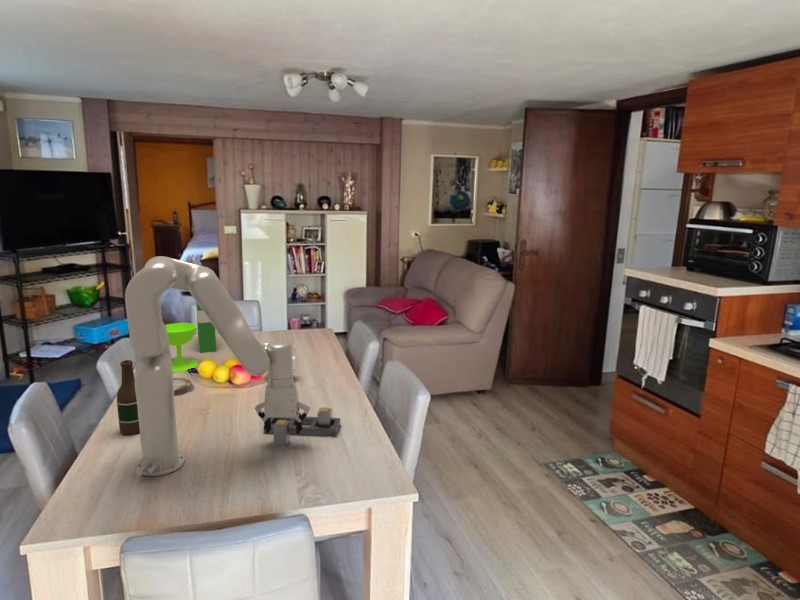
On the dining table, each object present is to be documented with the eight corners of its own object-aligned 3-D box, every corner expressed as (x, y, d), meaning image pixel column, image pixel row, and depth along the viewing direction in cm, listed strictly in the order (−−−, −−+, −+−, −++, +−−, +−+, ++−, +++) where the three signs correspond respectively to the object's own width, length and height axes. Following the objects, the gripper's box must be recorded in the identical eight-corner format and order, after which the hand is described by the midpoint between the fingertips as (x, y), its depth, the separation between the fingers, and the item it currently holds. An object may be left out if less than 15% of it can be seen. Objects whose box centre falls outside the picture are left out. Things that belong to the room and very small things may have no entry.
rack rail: (340, 424, 179) (340, 418, 179) (335, 436, 170) (335, 430, 170) (271, 421, 180) (271, 415, 180) (263, 433, 172) (263, 426, 171)
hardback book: (198, 343, 267) (195, 297, 262) (213, 341, 270) (211, 296, 265) (200, 353, 252) (197, 304, 247) (216, 351, 254) (213, 303, 249)
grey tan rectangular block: (329, 433, 173) (329, 411, 171) (317, 432, 173) (317, 411, 172) (331, 427, 177) (331, 406, 175) (320, 427, 177) (320, 406, 175)
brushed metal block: (286, 447, 163) (286, 425, 161) (273, 446, 163) (273, 424, 161) (289, 441, 167) (289, 419, 165) (277, 440, 167) (277, 418, 165)
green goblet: (190, 373, 225) (187, 332, 221) (153, 372, 225) (150, 331, 221) (204, 361, 240) (202, 323, 237) (170, 360, 241) (167, 322, 237)
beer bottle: (116, 437, 167) (109, 366, 162) (122, 426, 174) (116, 358, 169) (143, 434, 169) (137, 364, 164) (148, 424, 176) (142, 356, 171)
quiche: (179, 378, 221) (179, 369, 220) (213, 387, 211) (213, 378, 210) (134, 394, 203) (133, 384, 202) (169, 405, 193) (168, 395, 192)
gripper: (249, 384, 157) (252, 436, 161) (305, 386, 156) (308, 438, 160) (257, 375, 165) (260, 425, 168) (311, 377, 164) (313, 427, 167)
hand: (283, 431), depth 164 cm, fingers open, 9 cm apart
